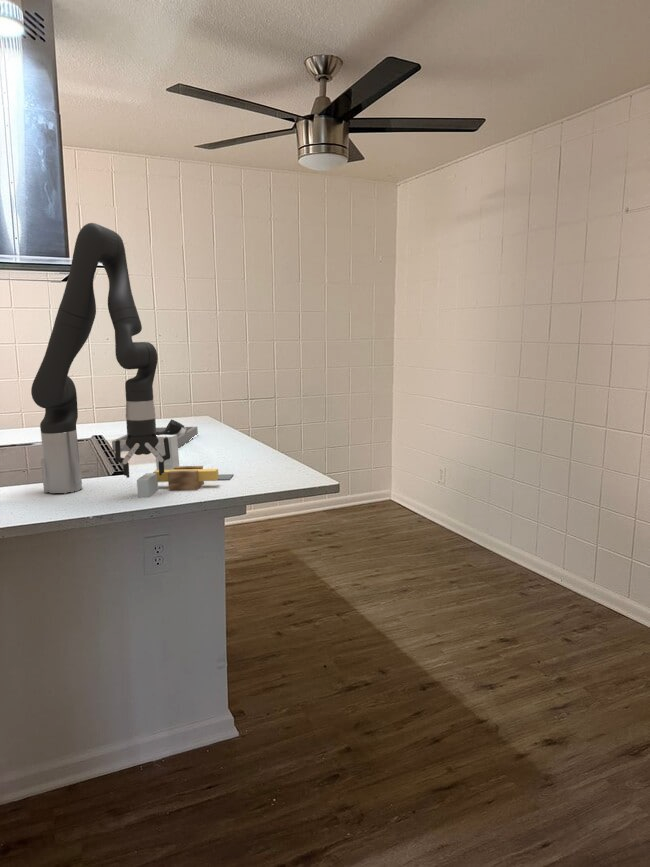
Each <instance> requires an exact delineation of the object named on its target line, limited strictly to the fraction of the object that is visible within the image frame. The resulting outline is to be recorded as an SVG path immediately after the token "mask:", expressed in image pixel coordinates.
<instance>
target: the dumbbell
mask: <svg viewBox="0 0 650 867" xmlns="http://www.w3.org/2000/svg"><path fill="white" fill-rule="evenodd" d="M165 427H166V429H165V430H164V431H162V432H156V434H157V435H163V434H164V435H177V436H179V435H181V434H185V433H186V431H187V428H186V427H187V426H185V425H183V423H180V422H178V421H176V420H174V419H170V421H169V422H168V424H167V425H166V426H165Z"/></svg>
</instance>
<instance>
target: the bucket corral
mask: <svg viewBox="0 0 650 867" xmlns="http://www.w3.org/2000/svg"><path fill="white" fill-rule="evenodd" d="M166 427H167V426H165V427H156V432H162V431H164V430H165V429H166ZM185 427H186V428H187V431H186V433H185V434H181V435H179V436H177V442H178V448H179V449H180V448H181V446H182V445H183V446H184V444H185V443H186V442H188V441H189V440H190V439H191V438H192V437H194V436H195V435H197V434H198V435H199V431H198V426H185ZM156 435H157V434H156ZM163 435H164V434H163ZM117 439H120V440H126V439H127V434H124V435H122V436H120V437H118V438H115V439H113V440H112V441H111V446H112V451H113V450H114V451H113V452H115V442H116V440H117ZM189 442H190V441H189ZM189 442H188V443H189ZM186 444H187V443H186ZM186 444H185V445H186ZM183 446H182V447H183ZM129 450H130V448H129V447H128V446H127V445H126V444H124V446H123V448H121V452H129Z"/></svg>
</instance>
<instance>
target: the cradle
mask: <svg viewBox="0 0 650 867" xmlns="http://www.w3.org/2000/svg"><path fill="white" fill-rule="evenodd" d="M178 469H204V466H203V465H188V466H187V465H185V466H184V465H183V466H181V465H179V466H176V467H174V470H178ZM204 484H205V481H199V480H198V470H189V471H169V472H168V491H169V492H171V491H173V492H174V491H177V492H179V491H182V492H183V491H198V490H200V488H201V487H202V486H203V485H204Z"/></svg>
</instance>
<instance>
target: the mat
mask: <svg viewBox="0 0 650 867" xmlns="http://www.w3.org/2000/svg"><path fill="white" fill-rule="evenodd" d="M218 476H219V478H218V479H217V481H230V480H231V479H232V478H233V477H234V474H233V473H231V474H230V473H229V474H225V473H224V474H218Z"/></svg>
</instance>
